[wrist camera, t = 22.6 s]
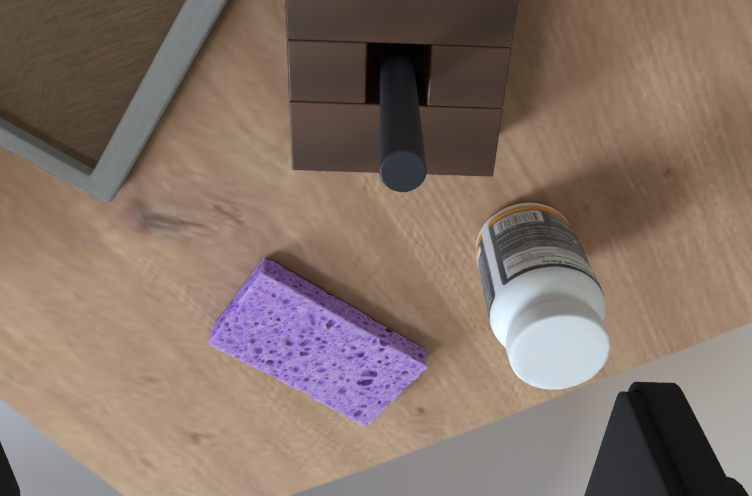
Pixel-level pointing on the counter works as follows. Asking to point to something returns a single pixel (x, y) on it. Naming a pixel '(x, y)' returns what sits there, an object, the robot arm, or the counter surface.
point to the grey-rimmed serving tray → (93, 80)
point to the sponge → (316, 343)
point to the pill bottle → (542, 296)
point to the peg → (400, 122)
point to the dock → (362, 93)
